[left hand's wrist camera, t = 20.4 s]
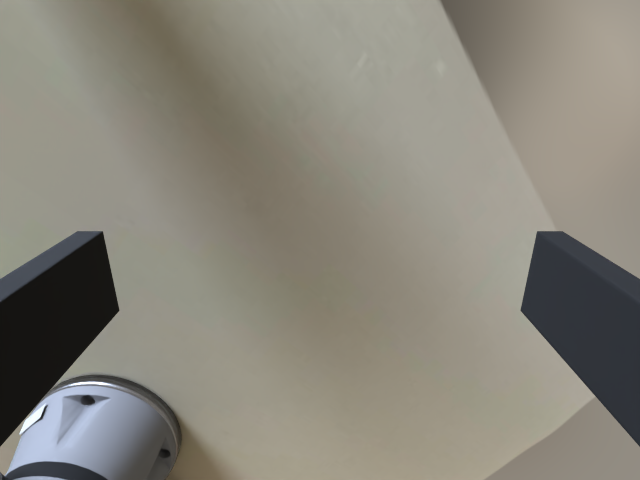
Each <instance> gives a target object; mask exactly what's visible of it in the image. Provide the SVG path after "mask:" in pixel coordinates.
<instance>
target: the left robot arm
mask: <svg viewBox="0 0 640 480" xmlns="http://www.w3.org/2000/svg"><path fill="white" fill-rule="evenodd" d="M118 312H119V306H118V302H117V297H116V292H115V287H114V283H113V278H112V273H111V268H110V264H109V259H108V254H107V249H106V244H105V240H104V235H103V231H77V232H76V233H74V234H72V235H71V236H69V237H68V238H66V239H64V240H63V241H61V242H60V243H58V244H56V245H55V246H53V247H51V248H50V249H48V250H47V251H45V252H43V253H42V254H40V255H39V256H37V257H35V258H34V259H32V260H30V261H29V262H27V263H26V264H24V265H22V266H21V267H19V268H17V269H16V270H14V271H13V272H11V273H9V274H8V275H6V276H5V277H3V278H1V279H0V446H1V445H2V444H3V443H4V442H5V441H6V439H7V438H8V437H9V436H10V435H11V434H12V433H13V431H14V430H15V429H16V428H17V427H18V426H19V425H20V423H21V422H22V421H23V420H24V419H25V418H26V417H27V415H28V414H29V413H30V412H31V411H32V410H33V409H34V410H33V412H32V414H31V415H30V417H29V418H28V419H27V420H25V423H24V425H23V427H22V430H21V432H20V434H21V433H22V432H23V434H22V436H21V439H20V441H19V444H18V447H17V449H16V452H15V454H14V457H13V459H12V462H11V464H10V467H9V470H8V472H7V474H6V475H5V476H4V475H2V473H0V480H165V479H166V477H167V476H168V474H169V473H170V471H171V470H172V468H173V466H174V463H175V461H176V458H177V455H178V453H179V450H180V446H181V431H180V427H179V423H178V421H177V419H176V417H175V415H174V413H173V412H172V411H171V409H170V408H169V407H168V406H167V404H166V403H165V402H164V401H163V400H162V399H161V398H159V397H158V396H157V395H156V394H154V393H153V392H151V391H150V390H148V389H146V388H145V387H143V386H141V385H139V384H137V383H134V382H131V381H129V380H125V379H122V378H118V377H113V376H105V375H88V376H81V377H76V378H72V379H69V380H67V381H64V382H62V383H60V384H58V385H57V386H55V387H54V388H53V389H51V388H52V387H53V386H54V385H55V383H56V382H57V381H58V380H59V379H60V378H61V377H62V375H63V374H64V373H65V372H66V371H67V370H68V369H69V367H70V366H71V365H72V364H73V363H74V362H75V361H76V359H77V358H78V357H79V356H80V355H81V354H82V353H83V351H84V350H85V349H86V348H87V347H88V346H89V345H90V344H91V342H92V341H93V340H94V339H95V338H96V337H97V336H98V334H99V333H100V332H101V331H102V330H103V329H104V328H105V326H106V325H107V324H108V323H109V322H110V321H111V320H112V318H113V317H114V316H115V315H116V314H117V313H118ZM521 312H522V313H523V314H524V315H525V316H526V317H527V318H528V320H529V321H530V322H531V323H532V324H533V325H534V326H535V328H536V329H537V330H538V331H539V332H540V333H541V334H542V336H543V337H544V338H545V339H546V340H547V341H548V342H549V344H550V345H551V346H552V347H553V348H554V349H555V350H556V351H557V353H558V354H559V355H560V356H561V357H562V358H563V359H564V361H565V362H566V363H567V364H568V365H569V366H570V367H571V369H572V370H573V371H574V372H575V373H576V374H577V375H578V377H579V378H580V379H581V380H582V381H583V382H584V383H585V385H586V386H587V387H588V388H589V389H590V390H591V391H592V393H593V394H594V395H595V396H596V397H597V398H598V399H599V401H600V402H601V403H602V404H603V405H604V406H605V407H606V409H607V410H608V411H609V412H610V413H611V414H612V415H613V417H614V418H615V419H616V420H617V421H618V422H619V423H620V424H621V426H622V427H623V428H624V429H625V430H626V431H627V433H628V434H629V435H630V436H631V437H632V438H633V439H634V441H635V442H636V443H637V444H638V445H639V446H640V279H639V278H637V277H635V276H634V275H632V274H631V273H629V272H627V271H626V270H624V269H623V268H621V267H619V266H618V265H616V264H614V263H613V262H611V261H610V260H608V259H606V258H605V257H603V256H601V255H600V254H598V253H597V252H595V251H593V250H592V249H590V248H588V247H587V246H585V245H584V244H582V243H580V242H579V241H577V240H576V239H574V238H572V237H571V236H569V235H567V234H566V233H564V232H562V231H537V235H536V240H535V244H534V249H533V254H532V259H531V264H530V268H529V273H528V278H527V283H526V287H525V292H524V297H523V302H522V306H521ZM50 389H51V390H50ZM49 390H50V391H49ZM48 391H49V392H48ZM44 396H45V397H44ZM43 397H44V398H43ZM42 398H43V399H42ZM41 399H42V400H41ZM37 404H38V405H37ZM36 405H37V406H36ZM35 406H36V407H35ZM34 407H35V408H34ZM20 434H19V435H20Z"/></svg>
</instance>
